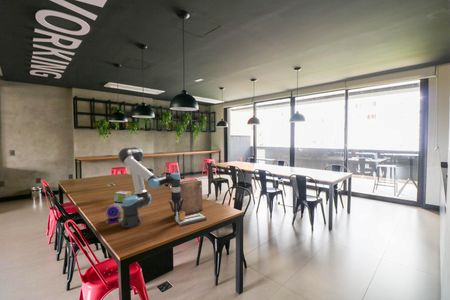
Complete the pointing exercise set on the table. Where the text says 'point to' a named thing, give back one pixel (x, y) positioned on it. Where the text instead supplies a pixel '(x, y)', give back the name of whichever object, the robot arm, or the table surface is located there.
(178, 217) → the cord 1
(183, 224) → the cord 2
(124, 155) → the robot arm
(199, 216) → the panel
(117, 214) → the webcam
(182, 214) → the lever
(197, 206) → the book
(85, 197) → the table surface
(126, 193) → the tea box
